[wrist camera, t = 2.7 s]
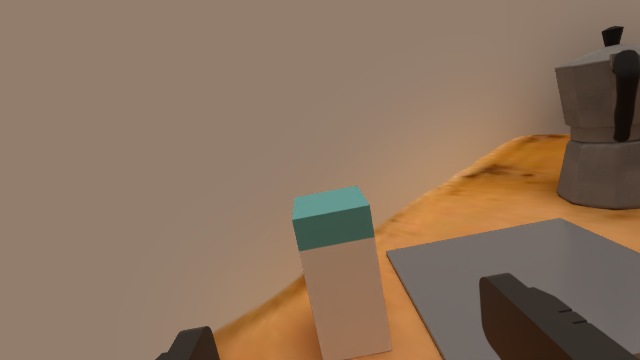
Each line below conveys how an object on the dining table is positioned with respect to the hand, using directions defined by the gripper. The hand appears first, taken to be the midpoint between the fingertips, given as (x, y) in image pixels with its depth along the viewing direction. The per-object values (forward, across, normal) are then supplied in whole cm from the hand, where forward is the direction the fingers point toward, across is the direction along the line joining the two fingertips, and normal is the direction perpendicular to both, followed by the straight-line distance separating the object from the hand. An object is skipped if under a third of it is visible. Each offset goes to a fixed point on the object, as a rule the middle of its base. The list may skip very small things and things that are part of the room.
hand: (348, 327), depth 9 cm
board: (+14, -14, +9) cm, 22 cm away
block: (+12, 0, +10) cm, 15 cm away
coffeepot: (+24, -31, +9) cm, 41 cm away
